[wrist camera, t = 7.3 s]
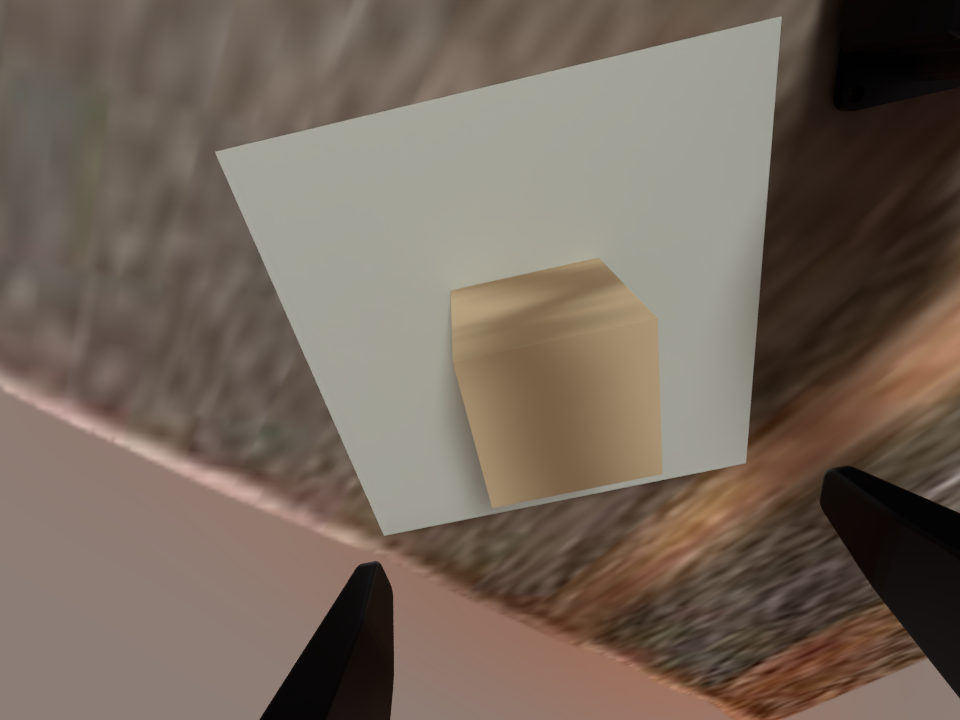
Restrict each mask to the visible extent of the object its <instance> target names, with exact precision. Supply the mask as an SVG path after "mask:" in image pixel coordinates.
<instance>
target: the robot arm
mask: <svg viewBox="0 0 960 720" xmlns="http://www.w3.org/2000/svg"><path fill="white" fill-rule="evenodd" d="M956 87H960V0H845V5H844V13H843V21H842V28H841V36H840V52H839V60H838V67H837V75H836V82H835V90H834V98H833V99H834V105H835V107H836V109H838V110H840V111H856V110H860V109H865V108H869V107H873V106H878V105H882V104H886V103H891V102H895V101H900V100H904V99H908V98H913V97H917V96H921V95H926V94H930V93H934V92H939V91H943V90H948V89H952V88H956ZM854 88H855V90H856V94H855V96H854V98H853V99H852V100H851V101H850V100H849V95H850V92H851V91H852V90H853V89H854ZM820 505H821V508H822V510H823V512H824V514H825V515H826V517H827V518H828V520H829V521H830V523H831V524H832V526H833V528H834V529H835V531H836V532H837V534H838V535H839V537H840V538H841V540H842V542H843V543H844V545H845V546H846V548H847V549H848V551H849V552H850V554H851V556H852V557H853V559H854V560H855V562H856V563H857V565H858V566H859V568H860V570H861V571H862V573H863V574H864V576H865V577H866V578H867V580H868V581H869V583H870V584H871V586H872V587H873V588H874V590H875V591H876V592H877V594H878V595H879V596H880V598H881V599H882V600H883V601H884V603H885V604H886V605H887V606H888V608H889V609H890V610H891V612H892V613H893V614H894V615H895V617H896V618H897V619H898V620H899V622H900V623H901V624H902V626H903V627H904V628H905V629H906V631H907V632H908V633H909V634H910V636H911V637H912V638H913V640H914V641H915V642H916V643H917V645H918V646H919V647H920V648H921V650H922V651H923V652H924V654H925V655H926V656H927V657H928V659H929V660H930V661H931V662H932V664H933V665H934V666H935V667H936V669H937V670H938V671H939V673H940V674H941V675H942V676H943V678H944V679H945V680H946V682H947V683H948V684H949V685H950V686H951V688H952V689H953V690H954V692H955V693H956V694H957V696H958V697H959V698H960V513H958V512H956V511H954V510H951V509H949V508H947V507H944V506H942V505H940V504H937V503H935V502H933V501H931V500H928V499H926V498H924V497H921V496H919V495H917V494H914V493H912V492H910V491H908V490H905V489H903V488H901V487H898V486H896V485H894V484H891V483H889V482H887V481H885V480H882V479H880V478H878V477H875V476H873V475H871V474H868V473H866V472H864V471H862V470H859V469H857V468H854V467H851V466H842V467H837V468H832V469H828V470H827V471H826V472H825V474H824V478H823V483H822V489H821V494H820ZM393 637H394V636H393V592H392V587H391V585H390V583H389V580H388V578H387V576H386V574H385V572H384V570H383V567H382V565H381V564H380V563H379V562H378V561H373V562H368V563H363V564H360V565H359V566H358V567H357V568H356V569H355V571H354V573H353V574H352V576H351V577H350V579H349V580H348V582H347V584H346V585H345V587H344V588H343V590H342V591H341V593H340V594H339V596H338V597H337V599H336V601H335V603H334V604H333V605H332V607H331V608H330V610H329V612H328V613H327V615H326V616H325V618H324V619H323V621H322V623H321V624H320V626H319V627H318V629H317V631H316V632H315V633H314V635H313V637H312V638H311V640H310V641H309V643H308V645H307V646H306V648H305V649H304V651H303V652H302V654H301V655H300V657H299V659H298V660H297V662H296V663H295V665H294V666H293V668H292V670H291V671H290V673H289V674H288V676H287V677H286V679H285V681H284V682H283V684H282V685H281V687H280V688H279V690H278V691H277V693H276V695H275V696H274V698H273V699H272V701H271V703H270V704H269V705H268V707H267V709H266V710H265V712H264V713H263V715H262V717H261V718H260V720H390V715H391V704H392V693H393V679H394V641H393V640H394V638H393Z"/></svg>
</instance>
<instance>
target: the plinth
mask: <svg viewBox="0 0 960 720" xmlns="http://www.w3.org/2000/svg"><path fill="white" fill-rule="evenodd" d="M781 19H782V16H781V17H777V18H772V19H768V20H764V21H760V22H756V23H752V24H747V25H743V26H739V27H735V28H731V29H726V30H722V31H718V32H714V33H710V34H706V35H701V36H697V37H693V38H689V39H685V40H681V41H676V42H672V43H668V44H664V45H660V46H655V47H651V48H647V49H643V50H639V51H635V52H630V53H626V54H622V55H618V56H614V57H609V58H605V59H601V60H597V61H593V62H589V63H584V64H580V65H576V66H572V67H568V68H563V69H559V70H555V71H551V72H547V73H543V74H538V75H534V76H530V77H526V78H522V79H518V80H513V81H509V82H505V83H501V84H497V85H492V86H488V87H484V88H480V89H476V90H472V91H467V92H463V93H459V94H455V95H451V96H446V97H442V98H438V99H434V100H430V101H426V102H421V103H417V104H413V105H409V106H405V107H400V108H396V109H392V110H388V111H384V112H380V113H375V114H371V115H367V116H363V117H359V118H354V119H350V120H346V121H342V122H338V123H334V124H329V125H325V126H321V127H317V128H313V129H309V130H304V131H300V132H296V133H292V134H288V135H283V136H279V137H275V138H271V139H267V140H263V141H258V142H254V143H250V144H246V145H242V146H237V147H233V148H229V149H225V150H221V151H217V152H215V153H216V156H217V158H218V160H219V162H220V165H221V167H222V169H223V171H224V174H225V176H226V178H227V180H228V183H229V185H230V187H231V190H232V192H233V194H234V196H235V199H236V201H237V203H238V205H239V208H240V210H241V212H242V215H243V217H244V219H245V221H246V224H247V226H248V228H249V230H250V233H251V235H252V237H253V239H254V242H255V244H256V246H257V249H258V251H259V253H260V255H261V258H262V260H263V262H264V264H265V267H266V269H267V271H268V274H269V276H270V278H271V280H272V283H273V285H274V287H275V289H276V292H277V294H278V296H279V298H280V301H281V303H282V305H283V308H284V310H285V312H286V314H287V317H288V319H289V321H290V323H291V326H292V328H293V330H294V333H295V335H296V337H297V339H298V342H299V344H300V346H301V348H302V351H303V353H304V355H305V357H306V360H307V362H308V364H309V367H310V369H311V371H312V373H313V376H314V378H315V380H316V382H317V385H318V387H319V389H320V392H321V394H322V396H323V398H324V401H325V403H326V405H327V407H328V410H329V412H330V414H331V416H332V419H333V421H334V423H335V426H336V428H337V430H338V432H339V435H340V437H341V439H342V441H343V444H344V446H345V448H346V451H347V453H348V455H349V457H350V460H351V462H352V464H353V466H354V469H355V471H356V473H357V475H358V478H359V480H360V482H361V485H362V487H363V489H364V491H365V494H366V496H367V498H368V500H369V503H370V505H371V507H372V510H373V512H374V514H375V516H376V519H377V521H378V523H379V525H380V528H381V530H382V532H383V534H384V536H386V535H391V534H396V533H401V532H406V531H411V530H416V529H421V528H425V527H430V526H435V525H440V524H445V523H450V522H455V521H460V520H465V519H470V518H475V517H480V516H485V515H490V514H495V513H500V512H505V511H510V510H515V509H520V508H525V507H530V506H535V505H540V504H545V503H550V502H555V501H560V500H565V499H570V498H575V497H580V496H585V495H590V494H595V493H600V492H605V491H610V490H615V489H620V488H625V487H630V486H635V485H640V484H645V483H650V482H655V481H660V480H665V479H670V478H675V477H680V476H685V475H690V474H695V473H700V472H705V471H710V470H715V469H720V468H725V467H730V466H735V465H740V464H745V463H746V457H747V445H748V432H749V419H750V407H751V394H752V382H753V369H754V357H755V344H756V332H757V319H758V307H759V294H760V282H761V269H762V257H763V244H764V232H765V219H766V207H767V194H768V182H769V169H770V157H771V144H772V132H773V119H774V107H775V94H776V82H777V69H778V57H779V44H780V32H781ZM594 258H600V259H601V260H602V261H603V262H604V264H605V265H606V266H607V267H608V268H609V269H610V270H611V271H612V272H613V273H614V274H615V275H616V276H617V277H618V278H619V279H620V280H621V281H622V282H623V283H624V284H625V285H626V286H627V287H628V288H629V289H630V290H631V291H632V292H633V293H634V294H635V295H636V296H637V297H638V299H639V300H640V301H641V302H642V303H643V304H644V305H645V306H646V307H647V308H648V309H649V310H650V311H651V312H652V313H653V314H654V315H655V316H656V317H657V318H658V346H659V378H660V411H661V443H662V474H660V475H655V476H650V477H645V478H640V479H635V480H630V481H625V482H620V483H615V484H611V485H606V486H601V487H596V488H591V489H586V490H581V491H576V492H571V493H566V494H561V495H556V496H551V497H546V498H541V499H536V500H531V501H526V502H521V503H516V504H511V505H506V506H501V507H496V508H492V505H491V501H490V498H489V494H488V490H487V487H486V483H485V479H484V476H483V472H482V468H481V465H480V461H479V457H478V454H477V450H476V446H475V442H474V439H473V435H472V431H471V428H470V424H469V420H468V417H467V413H466V409H465V406H464V402H463V398H462V395H461V391H460V387H459V383H458V380H457V376H456V372H455V369H454V365H453V354H452V320H451V290H454V289H459V288H463V287H468V286H472V285H477V284H481V283H486V282H491V281H495V280H500V279H504V278H509V277H513V276H518V275H522V274H527V273H531V272H536V271H540V270H545V269H549V268H554V267H558V266H563V265H567V264H572V263H576V262H581V261H585V260H590V259H594Z"/></svg>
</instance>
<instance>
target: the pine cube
mask: <svg viewBox="0 0 960 720" xmlns="http://www.w3.org/2000/svg"><path fill="white" fill-rule="evenodd" d="M451 320H452V354H453V365H454V369H455V372H456V376H457V380H458V383H459V387H460V391H461V395H462V398H463V402H464V406H465V409H466V413H467V417H468V420H469V424H470V428H471V431H472V435H473V439H474V442H475V446H476V450H477V454H478V457H479V461H480V465H481V468H482V472H483V476H484V479H485V483H486V487H487V490H488V494H489V498H490V501H491V505H492V508H496V507H501V506H506V505H511V504H516V503H521V502H526V501H531V500H536V499H541V498H546V497H551V496H556V495H561V494H566V493H571V492H576V491H581V490H586V489H591V488H596V487H601V486H606V485H611V484H615V483H620V482H625V481H630V480H635V479H640V478H645V477H650V476H655V475H660V474H662V443H661V411H660V378H659V346H658V318H657V317H656V316H655V315H654V314H653V313H652V312H651V311H650V310H649V309H648V308H647V307H646V306H645V305H644V304H643V303H642V302H641V301H640V300H639V299H638V297H637V296H636V295H635V294H634V293H633V292H632V291H631V290H630V289H629V288H628V287H627V286H626V285H625V284H624V283H623V282H622V281H621V280H620V279H619V278H618V277H617V276H616V275H615V274H614V273H613V272H612V271H611V270H610V269H609V268H608V267H607V266H606V265H605V264H604V262H603V261H602V260H601V259H600V258H594V259H590V260H585V261H581V262H576V263H572V264H567V265H563V266H558V267H554V268H549V269H545V270H540V271H536V272H531V273H527V274H522V275H518V276H513V277H509V278H504V279H500V280H495V281H491V282H486V283H481V284H477V285H472V286H468V287H463V288H459V289H454V290H451Z"/></svg>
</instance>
